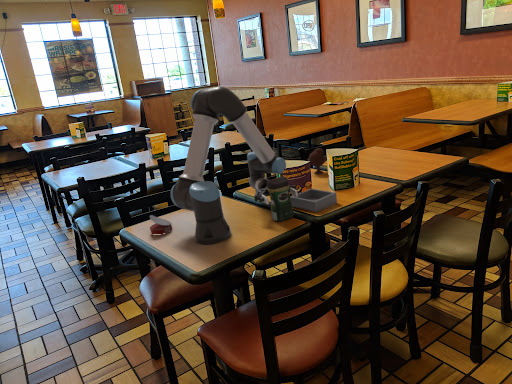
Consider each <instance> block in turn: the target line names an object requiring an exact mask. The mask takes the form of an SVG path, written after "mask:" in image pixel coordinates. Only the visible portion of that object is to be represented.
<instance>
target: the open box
mask: <svg viewBox="0 0 512 384" xmlns="http://www.w3.org/2000/svg"><path fill="white" fill-rule="evenodd" d="M308 189H309V190H308ZM308 189H306V190H307V191H306V190H304V191H305V192H303V191H301V192H302V193H301V192H298V197H296V196H294V195H291V196H290V200H291V204H292V208H294V207H296V208H295V209H298V208H301V209H300V210H302V209H305V210H304V211H307V210H310V211H309V212H311V211H314V212H313V213H315V212H317V213H319V212H321V211H323V210H325V209H327V208H329V206H330V207H332V206H334V205H337V203H338V197H337V192H336V191H335V192H334V191H328V190H322V189H316V188H311V189H310V188H308ZM331 205H332V206H331ZM322 209H323V210H322ZM320 210H321V211H320ZM318 211H319V212H318Z"/></svg>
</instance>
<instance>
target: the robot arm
mask: <svg viewBox="0 0 512 384" xmlns="http://www.w3.org/2000/svg"><path fill="white" fill-rule="evenodd" d="M190 107H191V110H192V114H191V115H192V118H193V119H194V122H193V123H194V124H193V128H192V131H191V132H192V133H191V137H190V140H189V141H190V142H189V145H188V146H189V147H188V149H187V154H186V159H185V160H186V161H185V165H184V169H183V173H181V175H179V176H178V179H177V182H176V183H175V184H174V185H173V186H172V187H171V189H170V199H171V201H172V203H173V204H174V205H175V206H176V207H178V208H180V209H182V210H186V211H191V212H193V214H194V217H195V222H196V223H195V232H194V239H195V242H196V243H198V244H199V243H200V245H212V244H217V243H221V242H223V241H226V240H227V239H228V238H230V237H231V235H232V231H231V227H230V225H229V224H228V222H227V220H226V219H225V216H224V211H223V205H222V201H221V195H220V194H221V193H220V190H219V186H218V184H217V183H215V182H213V181H210V180H209V181H208V180H206V181H205V179H204V173H205V169H206V168H205V167H206V164H207V160H208V155H209V151H210V150H209V149H210V145H211V141H212V136H213V131H214V126H215V125H216V124H217V123H219V119H220V116H222V117H224V118H225V119H226V120H227V121H228V122H229V123H232V125H233V127H235V129H236V130H237V131H238V132H239V134H240V135H241V137H242V138H243V139H244V141H245V142H246V144H247V145H248V146H249V148H250V149H251V150H252V151H250V152H248V153H246V154H247V155H246V159H247V166H248V170H249V176H250V177H249V179H248V183H249V186H250V187H251V188H252V189H253V190H254V191H255V193H254V195H253V197H254V202H258V203H265V204H266V205H268V206H269V204H270V203H269V198H268V197H270V194H269V192H268V190H267V181H268V180H269V178H267V176H266V173H267V174H274V175H281V174H283V173H284V172H285V171H284V169H285V168H286V169H287V162H286V160H285V159H284V158H282V157H278V156H277V154H276V153H275V152H274V150H273V149H272V147H271V146H270V144H269V143H268V141H267V140H266V139H265V137H264V135H263V134H262V133H261V131H260V130H259V128H258V127H257V126H256V124H255V123H254V120H252V117H250V116H249V114H248V113H247V111H248V108H247V107H246V105H245V104H244V102H243V101H242V100H241V99H240V98H239V96H238V95H237V94H235V92H233V91H232V90H230V89H229V88H227V87H224V86H215V87H205V88H201V89H198V90H196V91H195V92H194V93H193V94H192V96H191V98H190ZM286 169H285V170H286ZM290 194H291V196H296V197H298V194H299V192H298V189H297V185H294V184H293V185H292V184H289V195H290Z"/></svg>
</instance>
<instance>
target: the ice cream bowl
mask: <svg viewBox="0 0 512 384" xmlns="http://www.w3.org/2000/svg"><path fill="white" fill-rule="evenodd" d="M324 154H325V152H324V150H323V148H320V147H316V148H315V149H314V150H313V151H312V152H311V153H310V154H309V157H308V158H307V161H308V162H309V161H310V162H311V163H309V164H310V165H311V166H312V167H316V171H315V172H313V174H314V175H317V176H318V175H322V174H324V170H323V171H322V170H321V169H320V168H321V166H322V165H324V164H325V163H326V162H327V156H326V155H324Z"/></svg>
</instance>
